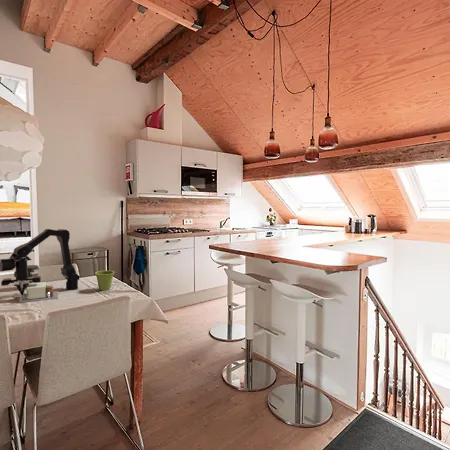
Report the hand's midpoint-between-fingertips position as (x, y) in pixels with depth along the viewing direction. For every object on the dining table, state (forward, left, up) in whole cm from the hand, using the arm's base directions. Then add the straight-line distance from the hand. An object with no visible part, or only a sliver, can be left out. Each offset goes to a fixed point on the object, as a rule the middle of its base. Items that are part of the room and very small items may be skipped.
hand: (22, 295), depth 177 cm
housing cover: (-7, 0, -1) cm, 7 cm away
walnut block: (-13, 0, -1) cm, 13 cm away
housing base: (-9, 0, -2) cm, 9 cm away
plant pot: (-45, -3, -3) cm, 45 cm away
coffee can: (-1, -27, -3) cm, 27 cm away
